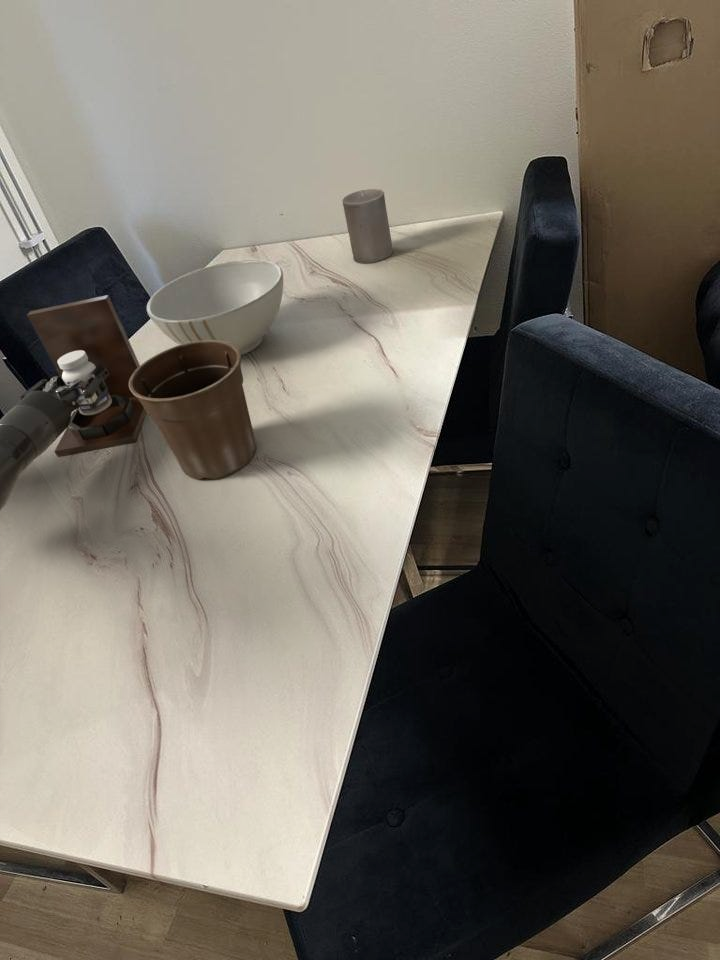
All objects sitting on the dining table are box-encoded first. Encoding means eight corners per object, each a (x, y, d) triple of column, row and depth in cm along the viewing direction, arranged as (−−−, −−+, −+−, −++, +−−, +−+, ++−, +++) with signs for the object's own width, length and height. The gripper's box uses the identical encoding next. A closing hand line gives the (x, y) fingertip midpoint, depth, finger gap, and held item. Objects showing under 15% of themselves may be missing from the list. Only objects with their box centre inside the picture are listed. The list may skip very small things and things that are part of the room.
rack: (57, 456, 113) (-5, 353, 101) (82, 408, 125) (30, 311, 113) (135, 442, 112) (83, 335, 100) (153, 394, 124) (108, 294, 112)
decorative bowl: (184, 395, 122) (159, 336, 114) (158, 343, 142) (136, 290, 134) (317, 344, 127) (301, 285, 120) (274, 301, 148) (259, 248, 140)
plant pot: (291, 445, 103) (262, 353, 93) (208, 504, 95) (167, 411, 85) (231, 416, 113) (199, 330, 103) (151, 467, 105) (108, 380, 95)
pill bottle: (119, 401, 116) (95, 350, 110) (94, 418, 112) (67, 367, 106) (99, 396, 119) (74, 346, 113) (73, 413, 115) (46, 363, 109)
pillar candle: (345, 260, 159) (331, 195, 150) (374, 244, 163) (362, 181, 154) (372, 266, 153) (360, 199, 143) (402, 250, 157) (392, 184, 148)
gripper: (59, 403, 97) (116, 347, 109) (-19, 407, 101) (44, 353, 113) (82, 445, 101) (134, 386, 114) (6, 447, 105) (64, 390, 118)
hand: (88, 370), depth 114 cm, fingers closed on pill bottle, 5 cm apart
